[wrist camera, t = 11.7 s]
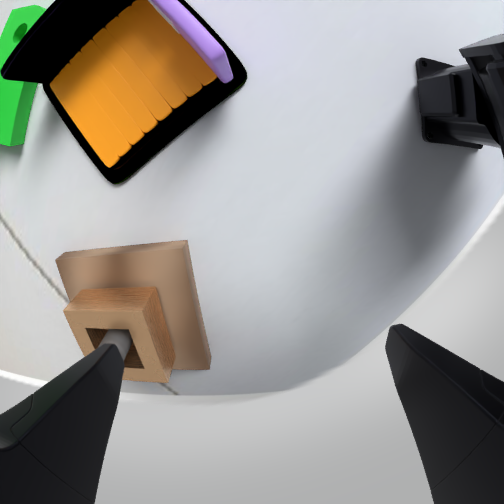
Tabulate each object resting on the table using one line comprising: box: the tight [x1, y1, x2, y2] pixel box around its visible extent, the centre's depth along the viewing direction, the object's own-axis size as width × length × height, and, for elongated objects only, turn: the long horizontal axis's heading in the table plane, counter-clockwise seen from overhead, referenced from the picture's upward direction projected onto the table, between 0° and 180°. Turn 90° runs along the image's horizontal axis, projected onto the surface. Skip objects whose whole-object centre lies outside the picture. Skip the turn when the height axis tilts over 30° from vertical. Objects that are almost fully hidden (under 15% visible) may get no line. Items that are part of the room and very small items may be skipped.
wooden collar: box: [63, 286, 176, 383], centre depth 19 cm, size 6×6×3 cm
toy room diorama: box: [1, 0, 247, 184], centre depth 12 cm, size 12×12×7 cm
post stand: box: [55, 240, 211, 370], centre depth 19 cm, size 11×11×7 cm
